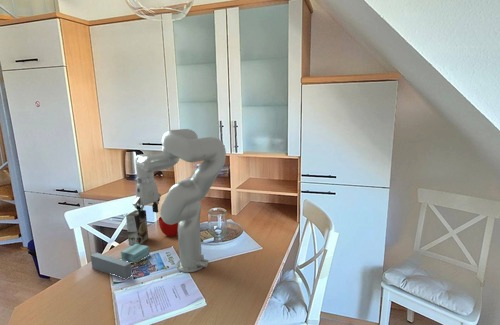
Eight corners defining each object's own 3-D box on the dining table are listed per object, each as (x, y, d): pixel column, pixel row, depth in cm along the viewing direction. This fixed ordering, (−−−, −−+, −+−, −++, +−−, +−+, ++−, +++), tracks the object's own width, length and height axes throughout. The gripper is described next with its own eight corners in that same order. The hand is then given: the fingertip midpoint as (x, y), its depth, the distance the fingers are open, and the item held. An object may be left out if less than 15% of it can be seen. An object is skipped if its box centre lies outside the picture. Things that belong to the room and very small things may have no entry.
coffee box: (139, 245, 149) (136, 215, 146) (128, 244, 150) (125, 215, 148) (149, 238, 158) (146, 209, 155) (138, 237, 159) (135, 209, 156)
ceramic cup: (174, 243, 150) (173, 225, 149) (155, 235, 161) (153, 218, 159) (193, 234, 161) (192, 217, 159) (174, 228, 171) (172, 212, 169)
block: (149, 256, 138) (148, 246, 137) (135, 265, 130) (133, 254, 129) (137, 253, 141) (136, 243, 140) (122, 262, 133) (121, 251, 132)
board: (132, 276, 120) (130, 262, 119) (126, 279, 118) (124, 266, 117) (98, 264, 130) (96, 252, 129) (92, 268, 128) (90, 255, 127)
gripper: (136, 184, 129) (140, 222, 132) (164, 177, 144) (167, 210, 147) (125, 183, 132) (128, 219, 135) (153, 175, 147) (156, 208, 150)
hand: (148, 214), depth 141 cm, fingers open, 8 cm apart
